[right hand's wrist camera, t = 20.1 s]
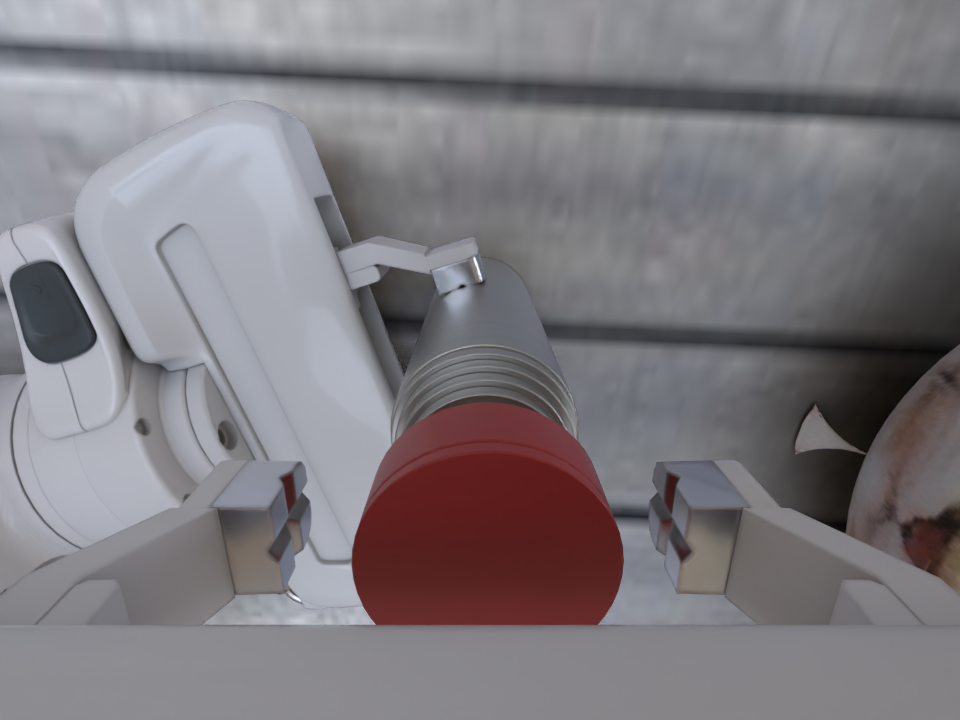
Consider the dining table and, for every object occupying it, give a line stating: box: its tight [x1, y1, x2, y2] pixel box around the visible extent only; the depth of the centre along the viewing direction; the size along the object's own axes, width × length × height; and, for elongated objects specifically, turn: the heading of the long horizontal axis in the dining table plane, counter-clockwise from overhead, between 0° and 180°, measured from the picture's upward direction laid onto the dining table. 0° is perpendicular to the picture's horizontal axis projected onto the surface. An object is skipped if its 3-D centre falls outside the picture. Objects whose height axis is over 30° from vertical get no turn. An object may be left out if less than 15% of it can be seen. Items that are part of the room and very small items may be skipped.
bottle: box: [390, 258, 578, 446], centre depth 17 cm, size 5×5×17 cm
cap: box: [351, 402, 624, 625], centre depth 9 cm, size 4×4×2 cm
